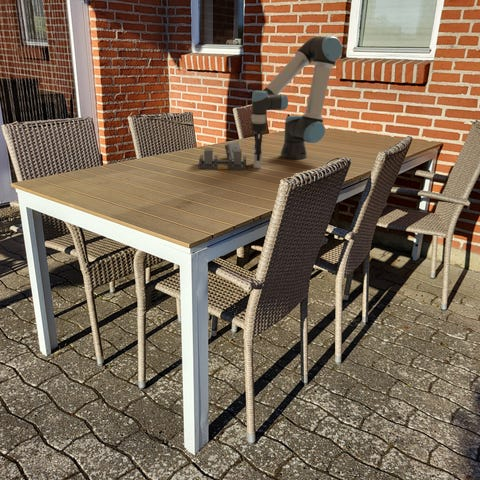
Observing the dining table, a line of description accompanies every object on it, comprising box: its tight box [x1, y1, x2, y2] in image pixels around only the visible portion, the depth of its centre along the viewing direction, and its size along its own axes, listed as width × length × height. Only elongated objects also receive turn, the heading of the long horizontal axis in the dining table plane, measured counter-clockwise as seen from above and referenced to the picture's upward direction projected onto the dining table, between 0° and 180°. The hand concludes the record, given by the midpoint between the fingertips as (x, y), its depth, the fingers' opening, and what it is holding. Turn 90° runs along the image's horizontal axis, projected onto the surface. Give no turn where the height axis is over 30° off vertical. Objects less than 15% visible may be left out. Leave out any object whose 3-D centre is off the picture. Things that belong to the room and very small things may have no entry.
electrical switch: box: [224, 140, 241, 161], centre depth 267 cm, size 9×5×9 cm, turn 141°
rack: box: [198, 147, 247, 171], centre depth 247 cm, size 24×14×9 cm, turn 90°
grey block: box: [252, 147, 263, 169], centre depth 249 cm, size 4×8×9 cm, turn 0°
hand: (257, 163), depth 250 cm, fingers open, 13 cm apart
